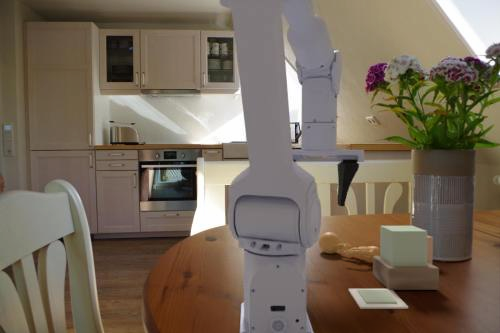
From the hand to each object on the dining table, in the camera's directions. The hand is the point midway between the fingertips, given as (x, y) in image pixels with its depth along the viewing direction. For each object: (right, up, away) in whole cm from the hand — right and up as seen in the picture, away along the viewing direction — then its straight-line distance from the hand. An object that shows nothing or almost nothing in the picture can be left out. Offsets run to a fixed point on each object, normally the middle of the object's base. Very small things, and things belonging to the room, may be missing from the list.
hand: (318, 205), depth 65 cm
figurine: (+2, -6, +9) cm, 11 cm away
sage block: (+11, -8, -7) cm, 15 cm away
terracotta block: (+16, -10, +3) cm, 20 cm away
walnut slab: (+11, -11, -7) cm, 17 cm away
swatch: (+5, -11, -13) cm, 18 cm away
